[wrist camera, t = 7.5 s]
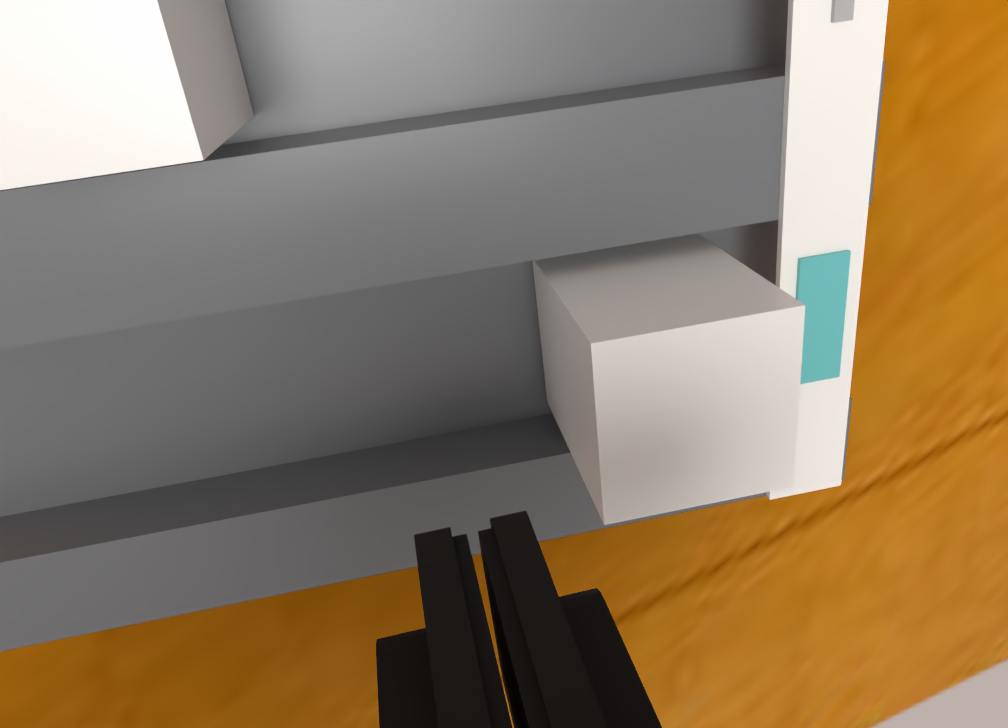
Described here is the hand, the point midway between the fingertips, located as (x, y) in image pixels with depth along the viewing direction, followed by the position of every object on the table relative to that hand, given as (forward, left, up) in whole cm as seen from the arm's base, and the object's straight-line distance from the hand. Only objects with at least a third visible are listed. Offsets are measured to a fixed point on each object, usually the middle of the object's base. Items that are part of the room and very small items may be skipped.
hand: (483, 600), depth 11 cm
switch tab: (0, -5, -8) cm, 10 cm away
